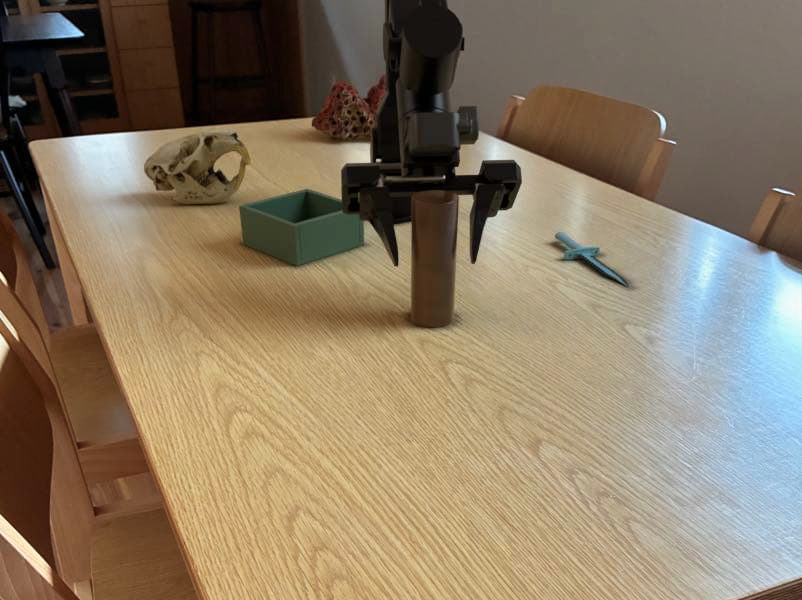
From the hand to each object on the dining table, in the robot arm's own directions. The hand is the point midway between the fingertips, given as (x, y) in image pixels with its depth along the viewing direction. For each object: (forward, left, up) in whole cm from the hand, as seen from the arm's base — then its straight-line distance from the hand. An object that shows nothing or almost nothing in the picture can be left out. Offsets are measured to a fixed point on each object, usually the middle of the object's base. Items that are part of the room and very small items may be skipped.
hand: (435, 263), depth 85 cm
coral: (-38, -81, -7) cm, 89 cm away
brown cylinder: (-1, -1, -7) cm, 7 cm away
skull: (+4, -57, -7) cm, 57 cm away
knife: (-28, -5, -7) cm, 29 cm away
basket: (0, -31, -7) cm, 31 cm away
